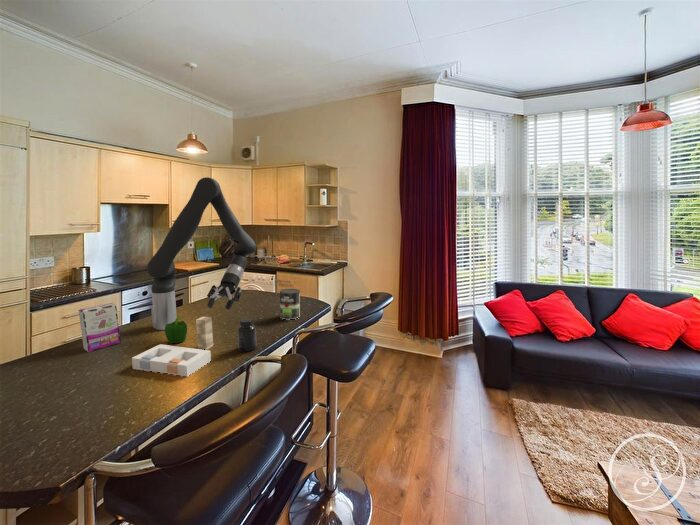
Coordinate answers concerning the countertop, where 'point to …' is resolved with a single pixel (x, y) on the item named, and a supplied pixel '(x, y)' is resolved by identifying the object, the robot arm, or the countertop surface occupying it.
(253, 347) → the supplement bottle
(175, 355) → the socket hub
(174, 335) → the bell pepper
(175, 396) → the countertop surface
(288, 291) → the coffee can
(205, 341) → the beech plug
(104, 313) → the candy bar box
